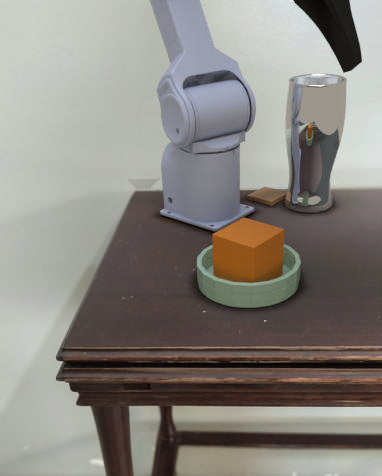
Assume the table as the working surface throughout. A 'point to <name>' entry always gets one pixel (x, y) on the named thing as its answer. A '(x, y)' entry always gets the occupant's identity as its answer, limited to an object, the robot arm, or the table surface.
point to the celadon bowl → (249, 292)
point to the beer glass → (313, 138)
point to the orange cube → (248, 252)
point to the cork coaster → (267, 196)
